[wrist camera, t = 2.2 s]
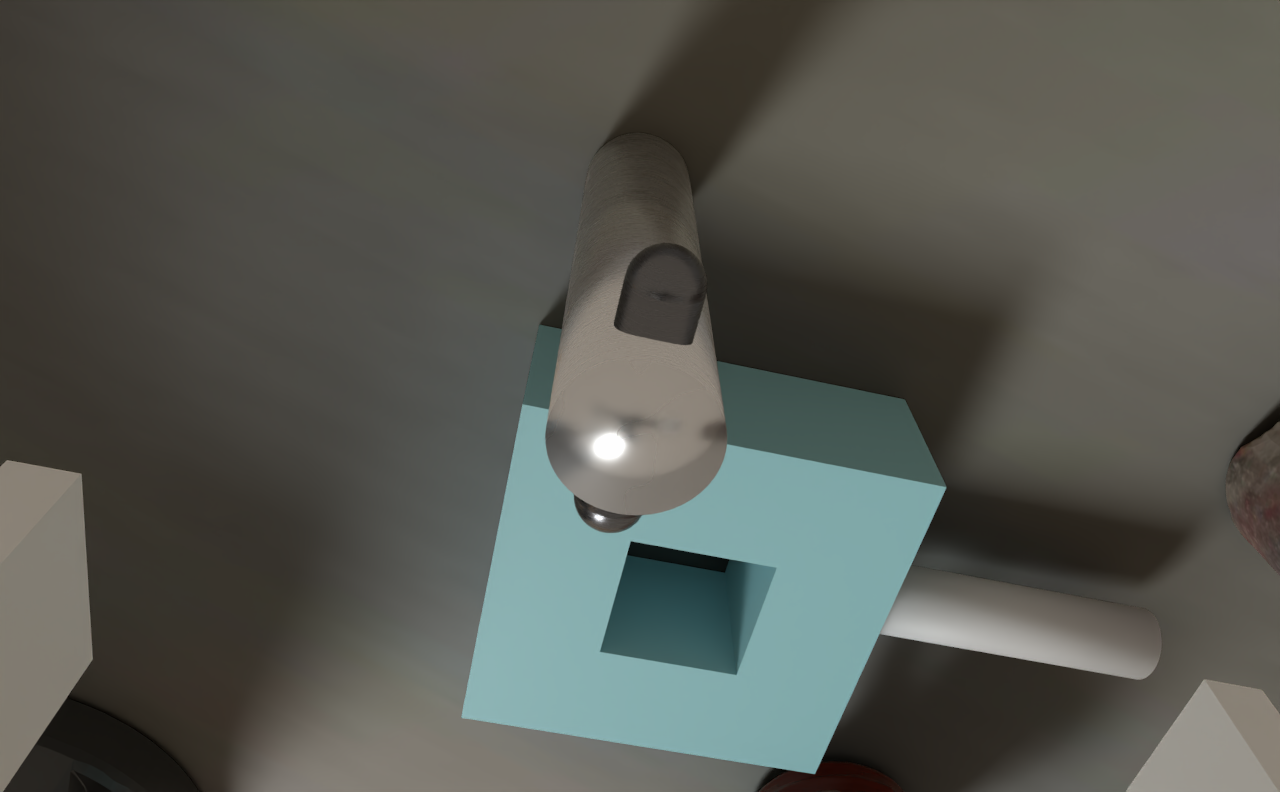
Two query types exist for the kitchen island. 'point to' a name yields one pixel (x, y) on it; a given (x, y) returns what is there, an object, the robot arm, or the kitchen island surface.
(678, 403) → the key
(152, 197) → the kitchen island surface
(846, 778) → the mug
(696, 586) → the chuck block
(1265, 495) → the brown mottled cylinder
